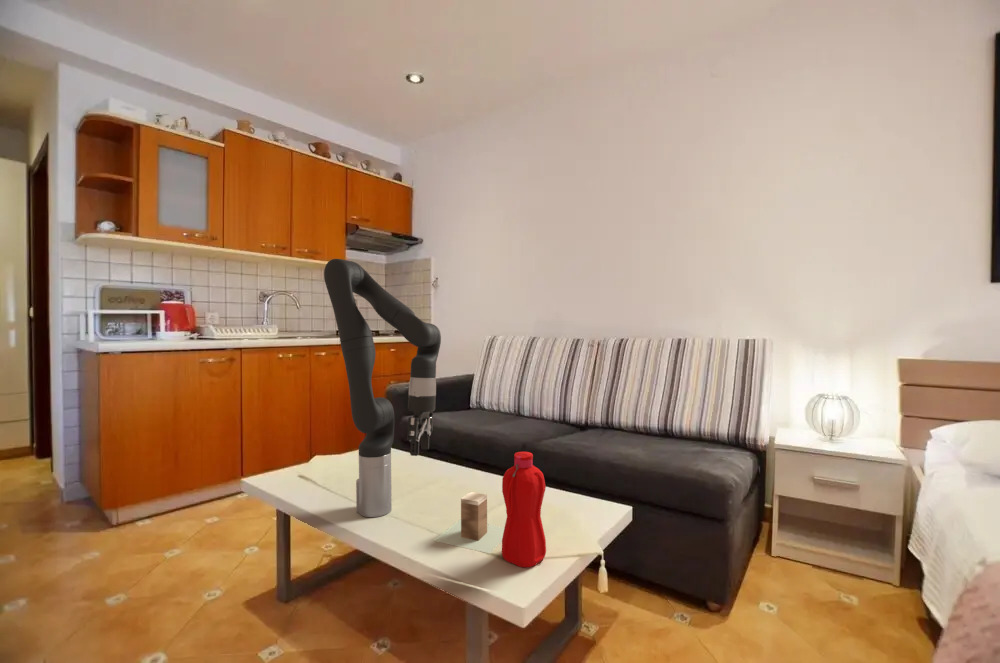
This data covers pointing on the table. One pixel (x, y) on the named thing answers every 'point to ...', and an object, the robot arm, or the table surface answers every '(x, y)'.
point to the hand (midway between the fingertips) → (419, 452)
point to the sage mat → (483, 545)
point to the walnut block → (474, 516)
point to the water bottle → (523, 512)
